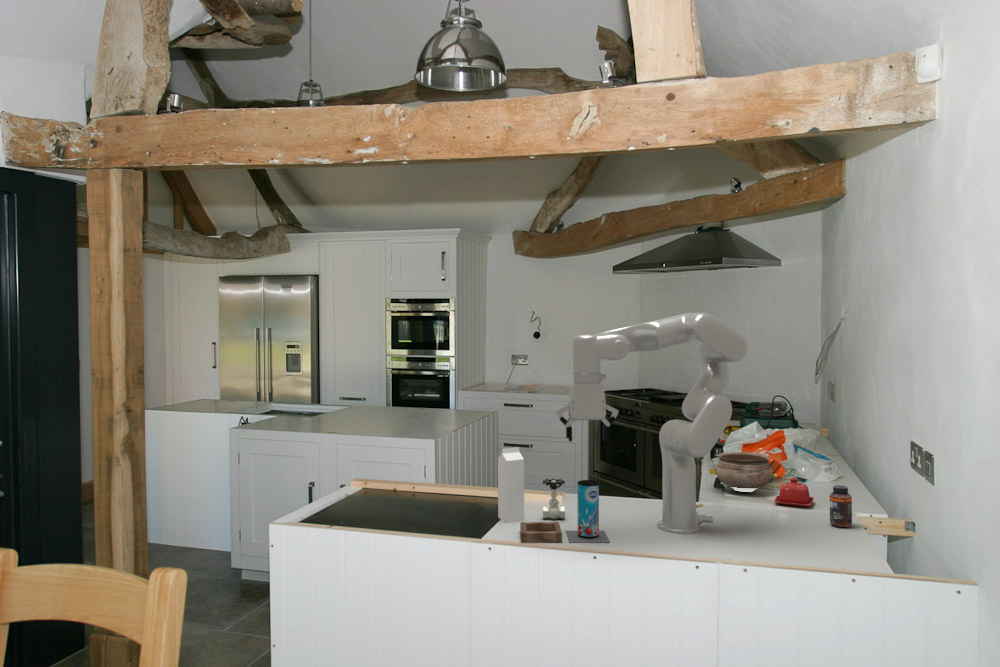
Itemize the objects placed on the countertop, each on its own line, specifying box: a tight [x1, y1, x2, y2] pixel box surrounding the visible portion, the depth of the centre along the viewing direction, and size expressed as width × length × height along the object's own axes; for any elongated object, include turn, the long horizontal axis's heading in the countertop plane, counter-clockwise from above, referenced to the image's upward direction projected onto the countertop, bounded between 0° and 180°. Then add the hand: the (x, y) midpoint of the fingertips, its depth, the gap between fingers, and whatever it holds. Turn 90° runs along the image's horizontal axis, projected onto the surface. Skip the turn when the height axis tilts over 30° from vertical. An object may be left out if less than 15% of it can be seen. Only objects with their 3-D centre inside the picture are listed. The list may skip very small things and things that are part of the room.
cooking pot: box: [715, 451, 773, 488], centre depth 258 cm, size 25×19×12 cm
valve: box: [542, 477, 566, 521], centre depth 221 cm, size 7×7×12 cm
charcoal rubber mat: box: [565, 529, 611, 544], centre depth 202 cm, size 11×11×1 cm
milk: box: [497, 446, 525, 523], centre depth 221 cm, size 6×6×22 cm
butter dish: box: [773, 477, 815, 507], centre depth 240 cm, size 12×12×8 cm
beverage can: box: [576, 479, 600, 538], centre depth 202 cm, size 6×6×15 cm
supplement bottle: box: [829, 484, 853, 528], centre depth 214 cm, size 6×6×11 cm
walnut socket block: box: [520, 521, 563, 544], centre depth 202 cm, size 11×11×3 cm
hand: (587, 440), depth 202 cm, fingers open, 9 cm apart
